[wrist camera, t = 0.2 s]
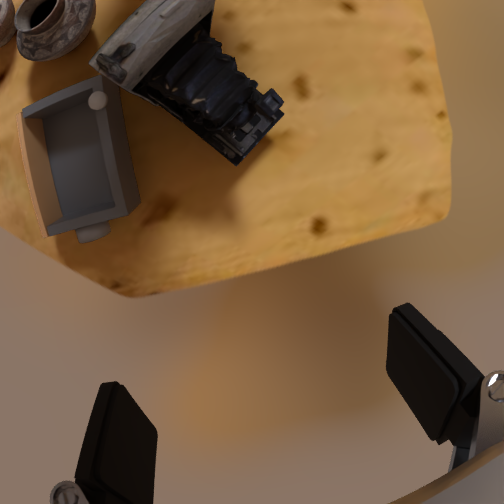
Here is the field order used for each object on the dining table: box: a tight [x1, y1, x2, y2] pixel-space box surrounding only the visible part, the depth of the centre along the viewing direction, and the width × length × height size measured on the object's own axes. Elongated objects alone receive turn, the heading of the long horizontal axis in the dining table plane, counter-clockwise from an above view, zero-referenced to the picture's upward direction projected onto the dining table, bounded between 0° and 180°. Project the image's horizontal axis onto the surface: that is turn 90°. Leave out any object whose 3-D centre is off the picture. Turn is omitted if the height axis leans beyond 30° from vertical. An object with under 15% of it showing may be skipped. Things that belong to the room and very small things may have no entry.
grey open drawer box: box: [22, 74, 141, 243], centre depth 30 cm, size 18×12×7 cm
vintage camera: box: [89, 0, 284, 166], centre depth 24 cm, size 10×16×20 cm, turn 48°
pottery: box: [0, 0, 96, 61], centre depth 19 cm, size 11×25×12 cm, turn 69°
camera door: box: [16, 112, 63, 238], centre depth 29 cm, size 16×2×5 cm, turn 9°
